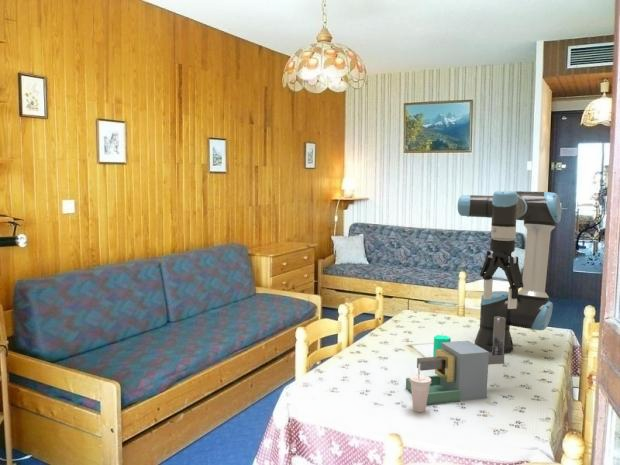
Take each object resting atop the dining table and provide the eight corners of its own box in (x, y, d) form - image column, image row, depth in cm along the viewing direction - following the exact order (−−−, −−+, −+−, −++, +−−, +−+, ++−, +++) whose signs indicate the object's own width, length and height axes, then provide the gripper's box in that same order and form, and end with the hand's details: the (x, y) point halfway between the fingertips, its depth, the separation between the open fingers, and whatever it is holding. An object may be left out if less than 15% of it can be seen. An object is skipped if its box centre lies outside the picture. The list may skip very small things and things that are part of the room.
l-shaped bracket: (498, 359, 183) (501, 316, 181) (505, 363, 179) (507, 319, 178) (416, 367, 175) (418, 321, 173) (421, 371, 171) (423, 324, 170)
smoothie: (406, 405, 167) (407, 360, 166) (426, 404, 168) (428, 360, 166) (411, 414, 161) (413, 368, 159) (433, 413, 162) (434, 368, 160)
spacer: (441, 372, 180) (442, 349, 179) (454, 381, 172) (455, 356, 172) (434, 373, 179) (435, 349, 179) (447, 382, 172) (448, 357, 171)
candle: (449, 367, 200) (451, 335, 199) (433, 366, 202) (434, 334, 200) (449, 362, 206) (450, 331, 205) (432, 361, 207) (434, 330, 206)
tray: (438, 385, 184) (439, 375, 183) (459, 401, 171) (460, 390, 170) (405, 388, 180) (406, 378, 180) (425, 405, 167) (425, 394, 167)
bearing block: (466, 383, 185) (468, 340, 184) (486, 397, 174) (488, 351, 172) (439, 386, 183) (441, 342, 181) (458, 400, 171) (460, 354, 170)
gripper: (471, 234, 187) (468, 295, 190) (516, 244, 164) (512, 313, 166) (490, 234, 189) (487, 294, 192) (538, 243, 165) (533, 312, 168)
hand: (499, 303), depth 179 cm, fingers open, 13 cm apart
